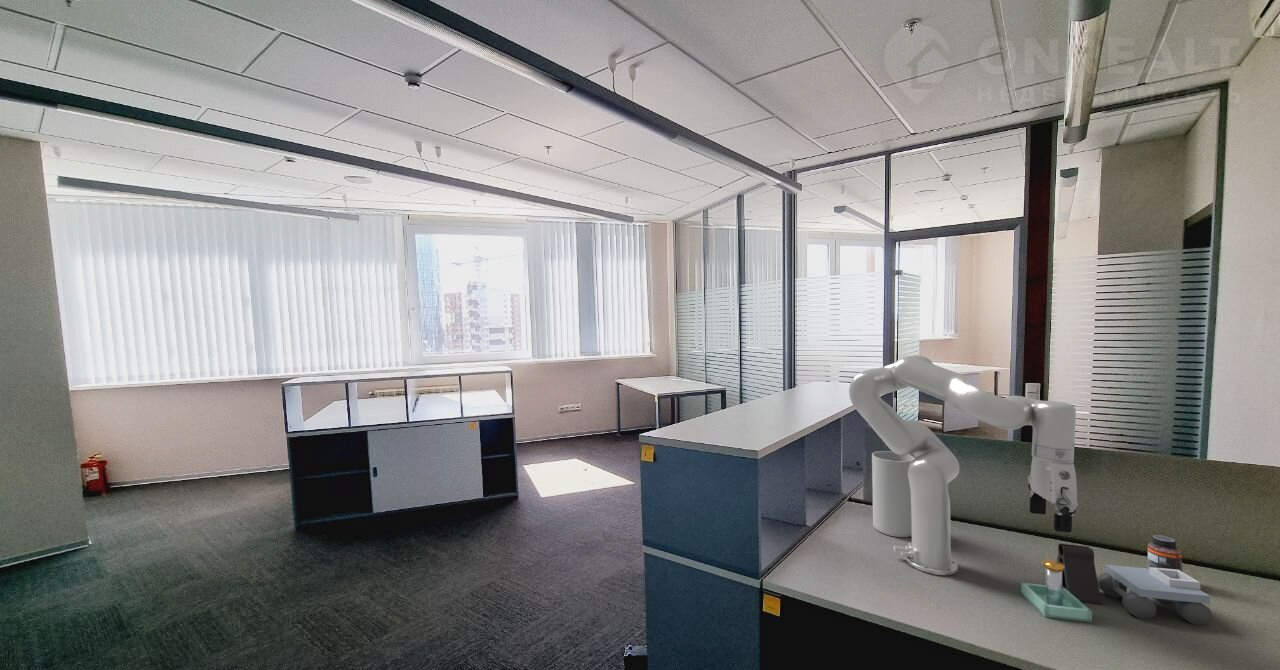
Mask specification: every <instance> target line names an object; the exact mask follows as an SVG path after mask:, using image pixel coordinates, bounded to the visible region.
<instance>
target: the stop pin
mask: <svg viewBox="0 0 1280 670" xmlns="http://www.w3.org/2000/svg"><path fill="white" fill-rule="evenodd" d="M1041 562H1042V564H1041V565H1042V566H1043V567H1044V569H1045V570H1044V571H1045V585H1046V602H1047V604H1049V605H1056V606H1063V587H1062V571H1064V570H1065V565H1064V564H1063V563H1061V562H1059V561H1057V559H1052V558H1043V559H1042V561H1041Z"/></svg>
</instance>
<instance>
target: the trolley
mask: <svg viewBox="0 0 1280 670" xmlns="http://www.w3.org/2000/svg"><path fill="white" fill-rule="evenodd" d="M1097 580H1098V586H1099V590H1100V591H1102V592H1103V593H1104V594H1106V595H1107V596H1108V597H1111V598H1121V597H1122V598H1121V604H1122V606H1123V608H1124V609H1125V610H1127V611H1128V612H1129V613H1131V614H1132V615H1133V616H1134V617H1136V618H1137V619H1141V620H1148V619H1151V618H1153V617H1154V616H1155V615H1156V613H1157V607H1156V604H1155V602H1153V601H1152V600H1151V599H1155V600H1157V601H1158V602H1160V603H1165V604H1170V603H1173V602H1174V603H1175V611H1176V613H1177V614H1178V615H1179V616H1180V617H1181V618H1183V619H1185V620H1186V621H1188V622H1189V623H1190V624H1192V625H1195V626H1206V625H1208V624H1209V623H1211V622H1212V620H1213V612H1212V610H1211V608H1209V607H1208V606H1207V604H1208V605H1211V596H1210V595H1209V594H1207V593H1206V592H1204V591H1202V590H1201V582H1200V581H1198V580H1196V579H1195V578H1193V577H1192V576H1190V575H1189V574H1186V573H1185V572H1183V571H1182V572H1181V571H1180V570H1175V569H1164V568H1153V567H1149V569H1148V567H1147V568H1144V567H1133V566H1124V565H1113V564H1105V565H1104V572H1102V573H1100V574H1099V575H1097ZM1128 589H1129V592H1127V591H1128ZM1149 598H1150V599H1149ZM1205 604H1206V605H1205Z"/></svg>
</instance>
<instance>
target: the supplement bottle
mask: <svg viewBox="0 0 1280 670" xmlns="http://www.w3.org/2000/svg"><path fill="white" fill-rule="evenodd" d="M1149 567H1153V568H1164V569H1175V570H1180V571H1181V572H1183V555H1182V550H1180V548H1178V547H1177V543H1176V539H1174V538H1172V537H1170V536H1166V535H1161V534H1160V535H1159V534H1154V535H1153V536H1152V542H1149V543H1148V544H1147V569H1149Z"/></svg>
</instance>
